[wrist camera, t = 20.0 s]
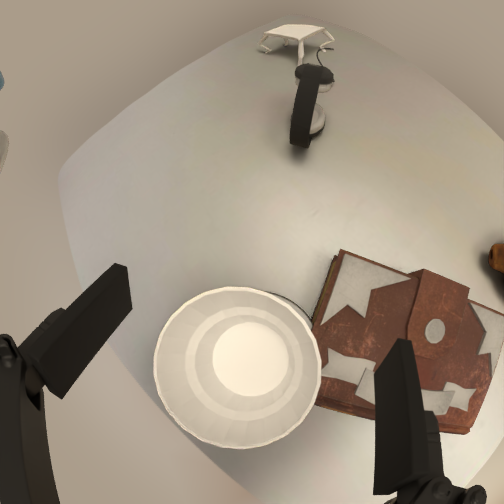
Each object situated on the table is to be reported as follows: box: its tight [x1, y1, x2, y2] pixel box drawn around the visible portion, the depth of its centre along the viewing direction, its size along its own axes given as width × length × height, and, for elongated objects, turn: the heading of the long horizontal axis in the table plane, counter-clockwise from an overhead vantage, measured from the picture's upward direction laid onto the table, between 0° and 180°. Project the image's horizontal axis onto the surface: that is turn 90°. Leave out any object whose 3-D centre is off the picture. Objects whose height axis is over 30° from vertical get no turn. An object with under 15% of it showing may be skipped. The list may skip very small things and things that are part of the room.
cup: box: [154, 287, 321, 449], centre depth 21 cm, size 10×10×10 cm
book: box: [311, 249, 504, 435], centre depth 25 cm, size 23×16×5 cm
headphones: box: [290, 48, 334, 148], centre depth 32 cm, size 10×4×20 cm
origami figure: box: [258, 24, 335, 66], centre depth 38 cm, size 12×8×5 cm
